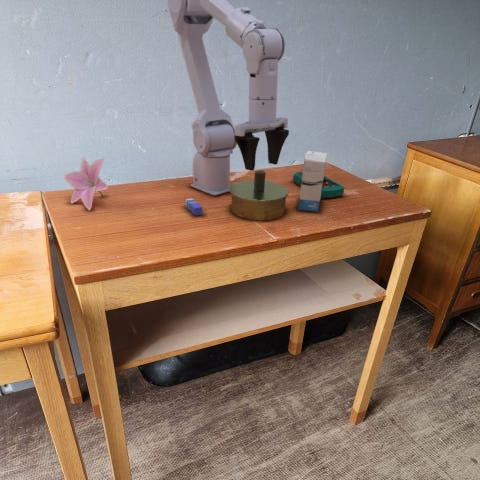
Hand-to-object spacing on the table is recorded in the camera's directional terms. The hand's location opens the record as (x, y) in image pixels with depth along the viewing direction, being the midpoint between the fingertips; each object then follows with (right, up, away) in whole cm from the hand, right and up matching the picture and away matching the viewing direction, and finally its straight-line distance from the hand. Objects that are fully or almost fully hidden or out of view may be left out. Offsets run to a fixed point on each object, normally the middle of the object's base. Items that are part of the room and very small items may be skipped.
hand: (261, 166), depth 98 cm
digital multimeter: (+16, +1, +20) cm, 25 cm away
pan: (-1, -8, +6) cm, 10 cm away
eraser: (-16, -9, +4) cm, 18 cm away
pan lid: (0, -5, +3) cm, 6 cm away
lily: (-40, -6, +7) cm, 41 cm away
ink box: (+12, -6, +10) cm, 17 cm away
